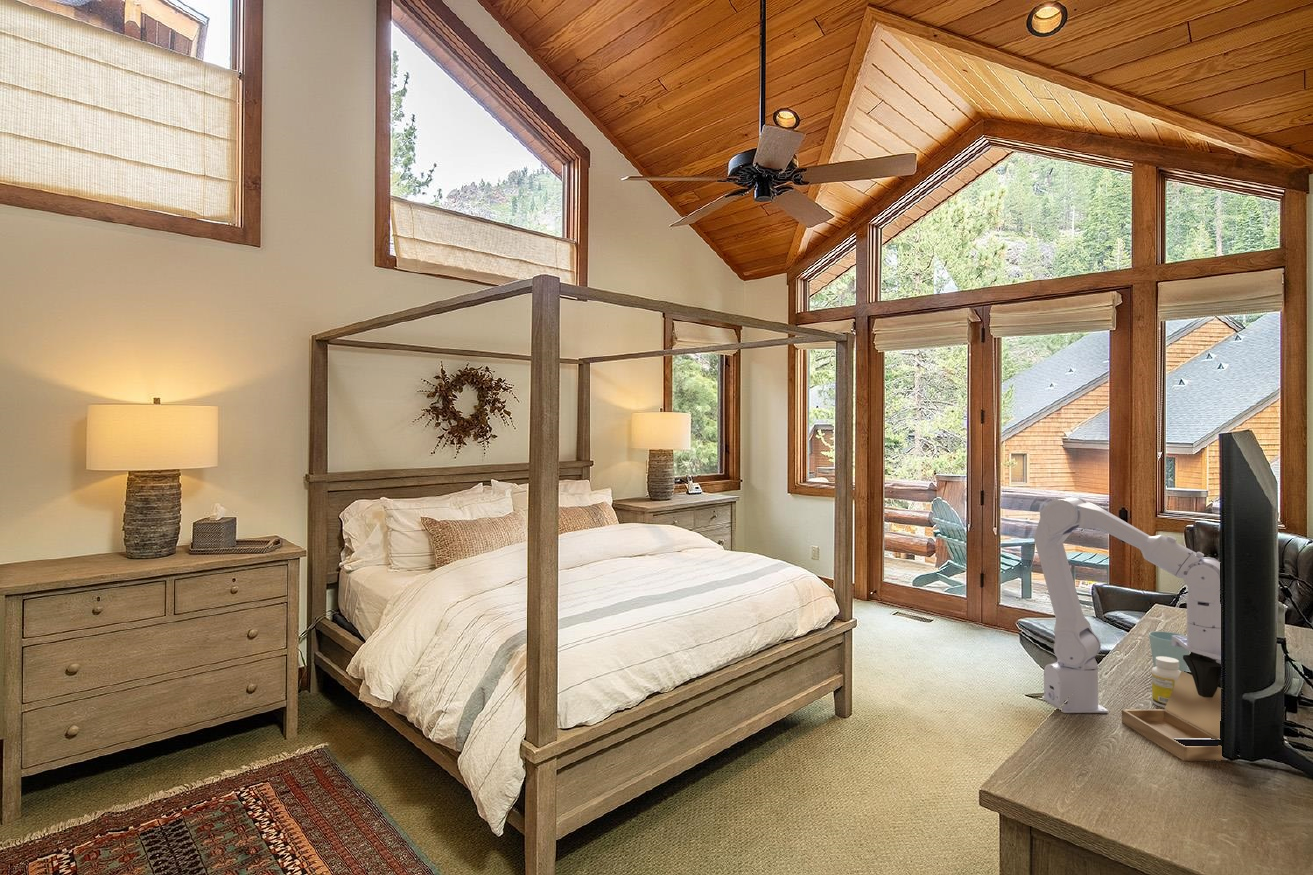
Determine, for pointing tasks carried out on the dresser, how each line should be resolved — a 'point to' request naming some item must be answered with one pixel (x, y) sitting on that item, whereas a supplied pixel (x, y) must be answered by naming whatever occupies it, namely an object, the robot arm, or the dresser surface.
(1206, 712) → the lid flap
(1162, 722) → the carton
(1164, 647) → the cup
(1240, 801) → the dresser surface
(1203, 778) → the dresser surface
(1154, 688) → the supplement bottle
